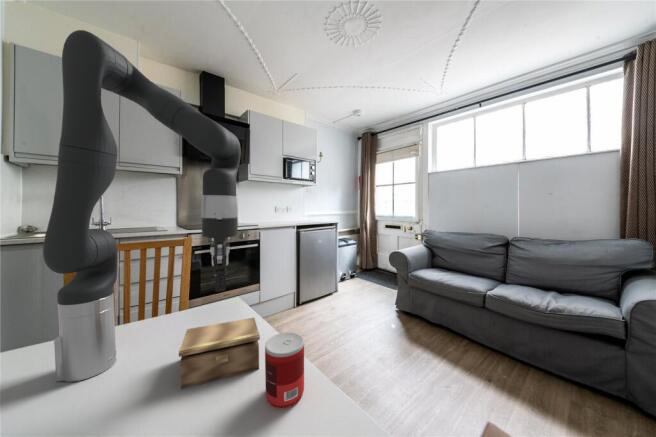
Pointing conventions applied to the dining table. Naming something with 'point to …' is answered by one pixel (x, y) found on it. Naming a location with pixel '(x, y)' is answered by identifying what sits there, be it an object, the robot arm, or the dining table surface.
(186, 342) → the lid
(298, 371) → the canned food
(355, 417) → the dining table surface
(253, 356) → the box
